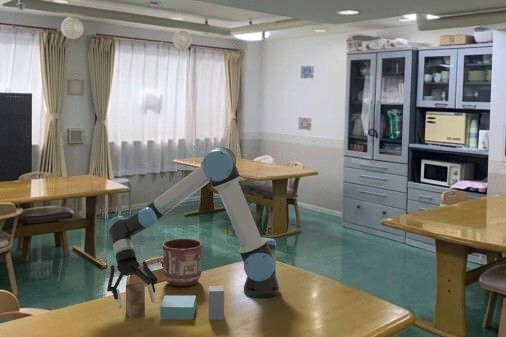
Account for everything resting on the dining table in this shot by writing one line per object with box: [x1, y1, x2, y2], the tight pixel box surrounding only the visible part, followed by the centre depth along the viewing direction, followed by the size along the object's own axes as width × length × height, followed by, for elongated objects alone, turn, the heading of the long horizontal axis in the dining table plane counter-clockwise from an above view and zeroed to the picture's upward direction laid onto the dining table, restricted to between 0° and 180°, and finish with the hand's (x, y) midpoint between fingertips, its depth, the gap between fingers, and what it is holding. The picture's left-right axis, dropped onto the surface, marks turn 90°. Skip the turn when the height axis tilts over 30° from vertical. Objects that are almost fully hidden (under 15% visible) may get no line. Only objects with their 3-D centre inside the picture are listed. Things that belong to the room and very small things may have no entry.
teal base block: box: [159, 295, 197, 320], centre depth 201 cm, size 12×12×5 cm
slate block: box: [208, 285, 225, 321], centre depth 197 cm, size 6×6×11 cm
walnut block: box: [125, 282, 146, 319], centre depth 199 cm, size 6×6×11 cm
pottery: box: [162, 238, 203, 288], centre depth 234 cm, size 18×18×18 cm
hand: (137, 303), depth 197 cm, fingers open, 12 cm apart
